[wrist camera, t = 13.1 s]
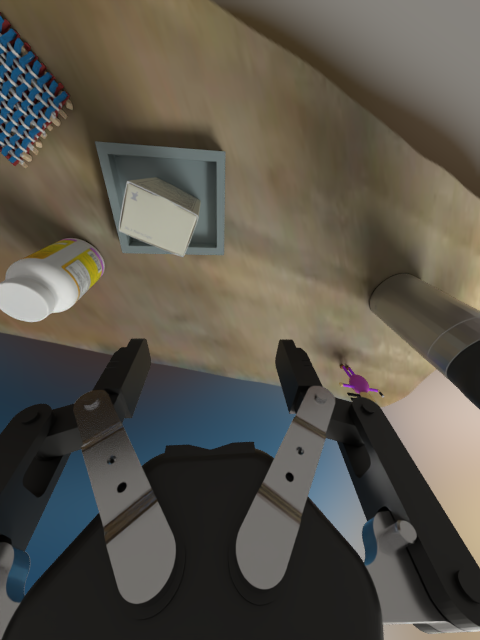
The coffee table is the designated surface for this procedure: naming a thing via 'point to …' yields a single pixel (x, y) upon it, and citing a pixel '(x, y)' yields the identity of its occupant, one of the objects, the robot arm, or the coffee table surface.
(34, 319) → the supplement bottle
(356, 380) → the wizard figurine
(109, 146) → the tray
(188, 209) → the skincare box
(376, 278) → the coffee table surface
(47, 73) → the woven mat
